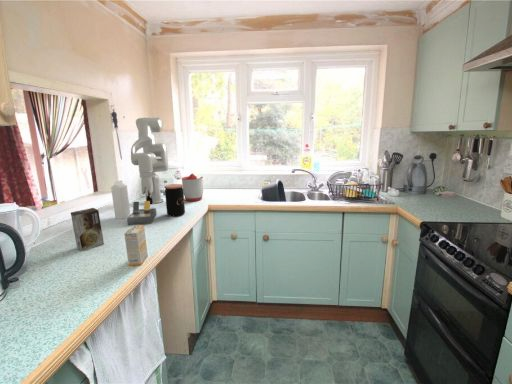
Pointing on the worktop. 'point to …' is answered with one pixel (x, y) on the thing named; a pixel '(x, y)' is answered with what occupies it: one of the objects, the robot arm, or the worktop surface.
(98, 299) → the worktop surface
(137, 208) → the paddle black
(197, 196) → the citrus juicer
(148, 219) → the switch panel
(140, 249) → the supplement box
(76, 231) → the coffee box
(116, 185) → the milk
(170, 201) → the coffee jar
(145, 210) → the paddle amber
